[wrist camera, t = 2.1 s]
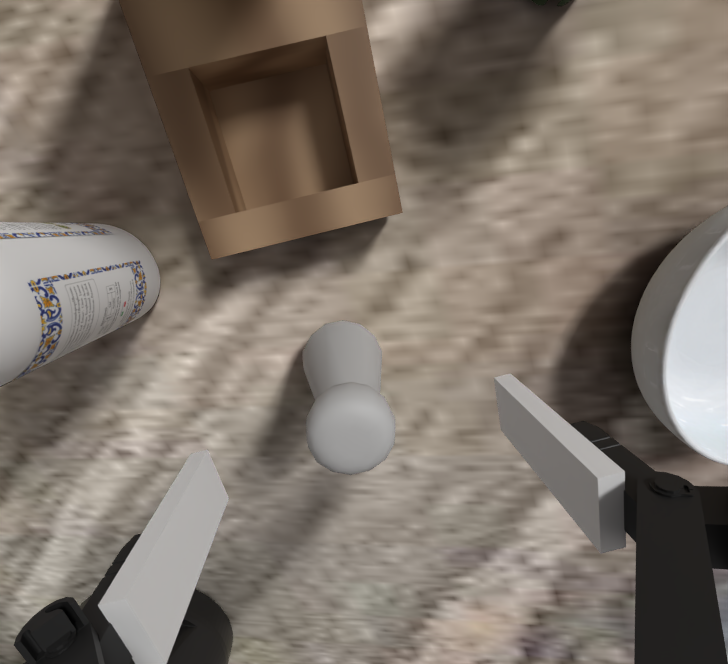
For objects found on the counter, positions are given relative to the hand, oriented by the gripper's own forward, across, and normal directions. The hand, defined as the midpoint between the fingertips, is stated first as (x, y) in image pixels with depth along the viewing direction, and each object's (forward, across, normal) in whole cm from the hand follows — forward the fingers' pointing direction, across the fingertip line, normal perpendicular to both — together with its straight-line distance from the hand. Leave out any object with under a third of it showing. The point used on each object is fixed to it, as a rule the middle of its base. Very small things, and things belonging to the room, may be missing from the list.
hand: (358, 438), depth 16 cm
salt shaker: (+13, 0, 0) cm, 13 cm away
